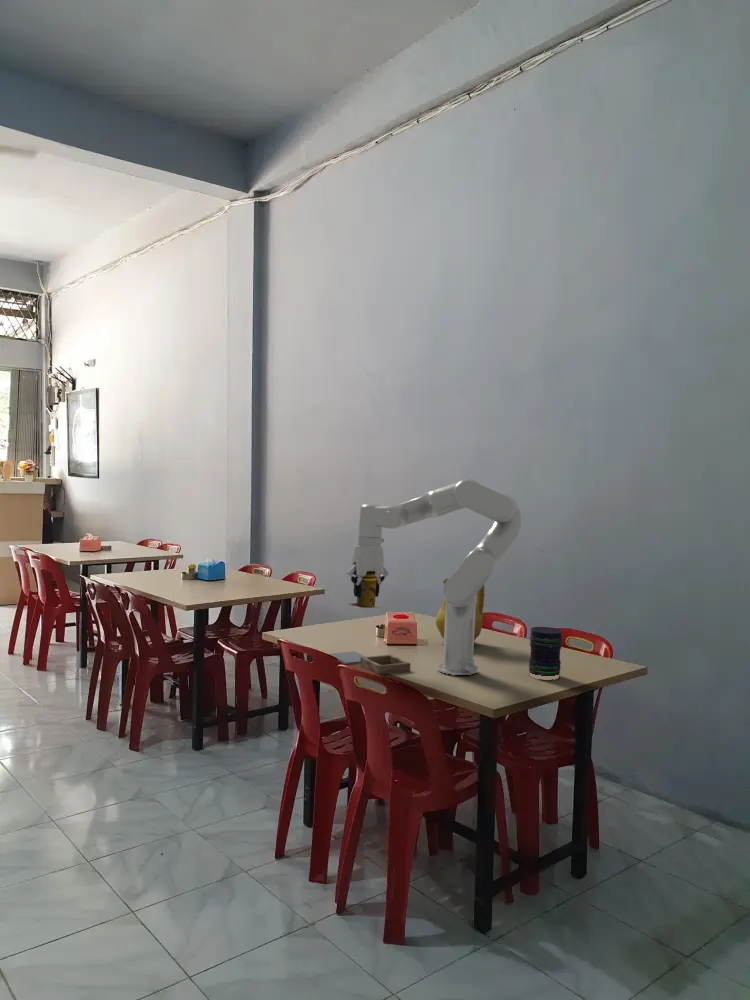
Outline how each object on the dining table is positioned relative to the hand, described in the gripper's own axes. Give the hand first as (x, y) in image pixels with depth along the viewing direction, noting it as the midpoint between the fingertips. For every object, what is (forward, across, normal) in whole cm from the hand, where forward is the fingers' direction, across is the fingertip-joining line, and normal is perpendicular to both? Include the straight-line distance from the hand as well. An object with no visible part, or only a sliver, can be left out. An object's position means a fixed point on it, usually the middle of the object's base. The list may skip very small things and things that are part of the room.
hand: (366, 595), depth 254 cm
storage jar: (+21, -46, +37) cm, 63 cm away
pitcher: (+22, -48, -11) cm, 54 cm away
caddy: (+22, -3, +9) cm, 24 cm away
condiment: (+4, +1, 0) cm, 4 cm away
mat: (+22, +1, -6) cm, 23 cm away
